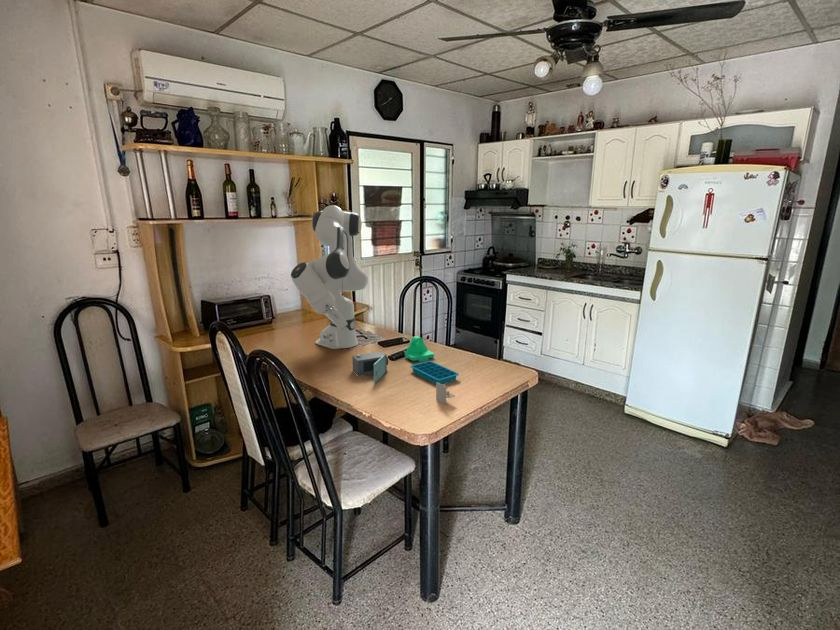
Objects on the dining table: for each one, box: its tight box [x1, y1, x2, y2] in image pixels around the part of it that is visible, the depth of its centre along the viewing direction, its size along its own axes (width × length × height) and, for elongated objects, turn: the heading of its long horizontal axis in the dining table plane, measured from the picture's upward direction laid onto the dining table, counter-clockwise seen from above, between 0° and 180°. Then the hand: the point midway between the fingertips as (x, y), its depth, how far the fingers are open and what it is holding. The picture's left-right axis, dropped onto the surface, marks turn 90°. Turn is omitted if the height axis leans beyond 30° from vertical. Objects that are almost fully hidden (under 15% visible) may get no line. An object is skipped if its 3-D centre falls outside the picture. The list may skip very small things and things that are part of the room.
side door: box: [373, 353, 387, 384], centre depth 182 cm, size 13×1×8 cm, turn 165°
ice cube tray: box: [410, 360, 460, 385], centre depth 186 cm, size 12×20×3 cm, turn 36°
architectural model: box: [435, 382, 456, 406], centre depth 161 cm, size 3×7×7 cm, turn 37°
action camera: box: [351, 351, 389, 377], centre depth 190 cm, size 15×7×8 cm, turn 117°
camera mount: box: [404, 335, 435, 363], centre depth 206 cm, size 12×8×10 cm, turn 121°
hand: (343, 328), depth 170 cm, fingers closed
